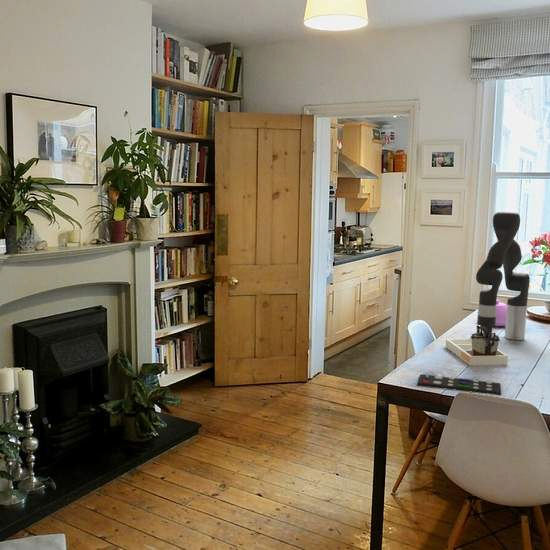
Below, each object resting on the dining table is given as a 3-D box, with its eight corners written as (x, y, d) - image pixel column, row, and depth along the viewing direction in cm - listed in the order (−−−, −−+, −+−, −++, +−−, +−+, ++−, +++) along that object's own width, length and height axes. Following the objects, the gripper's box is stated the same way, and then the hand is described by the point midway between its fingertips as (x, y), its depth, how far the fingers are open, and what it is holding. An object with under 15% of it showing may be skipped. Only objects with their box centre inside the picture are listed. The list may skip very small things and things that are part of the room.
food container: (499, 356, 263) (500, 334, 262) (499, 360, 258) (500, 337, 256) (469, 353, 268) (471, 331, 266) (469, 356, 262) (470, 334, 261)
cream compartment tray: (445, 347, 285) (445, 338, 284) (479, 346, 286) (479, 338, 286) (469, 365, 257) (469, 356, 256) (507, 364, 258) (508, 355, 257)
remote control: (420, 377, 242) (420, 373, 241) (500, 386, 232) (500, 381, 232) (417, 386, 231) (417, 381, 231) (500, 396, 222) (501, 391, 221)
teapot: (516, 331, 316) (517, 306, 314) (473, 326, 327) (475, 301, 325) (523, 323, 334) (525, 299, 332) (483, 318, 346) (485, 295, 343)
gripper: (502, 318, 252) (500, 356, 255) (488, 310, 266) (485, 347, 269) (485, 318, 252) (483, 357, 254) (471, 310, 266) (469, 347, 268)
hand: (484, 351), depth 262 cm, fingers closed on food container, 6 cm apart
